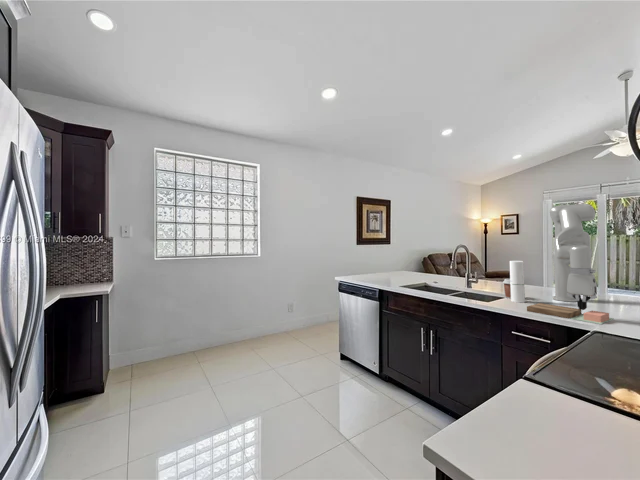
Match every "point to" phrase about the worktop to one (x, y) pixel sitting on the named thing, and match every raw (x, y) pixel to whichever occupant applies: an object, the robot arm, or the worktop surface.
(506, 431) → the worktop surface
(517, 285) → the cylindrical container
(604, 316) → the pink rectangular block
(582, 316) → the mat
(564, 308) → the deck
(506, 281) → the coffee cup
